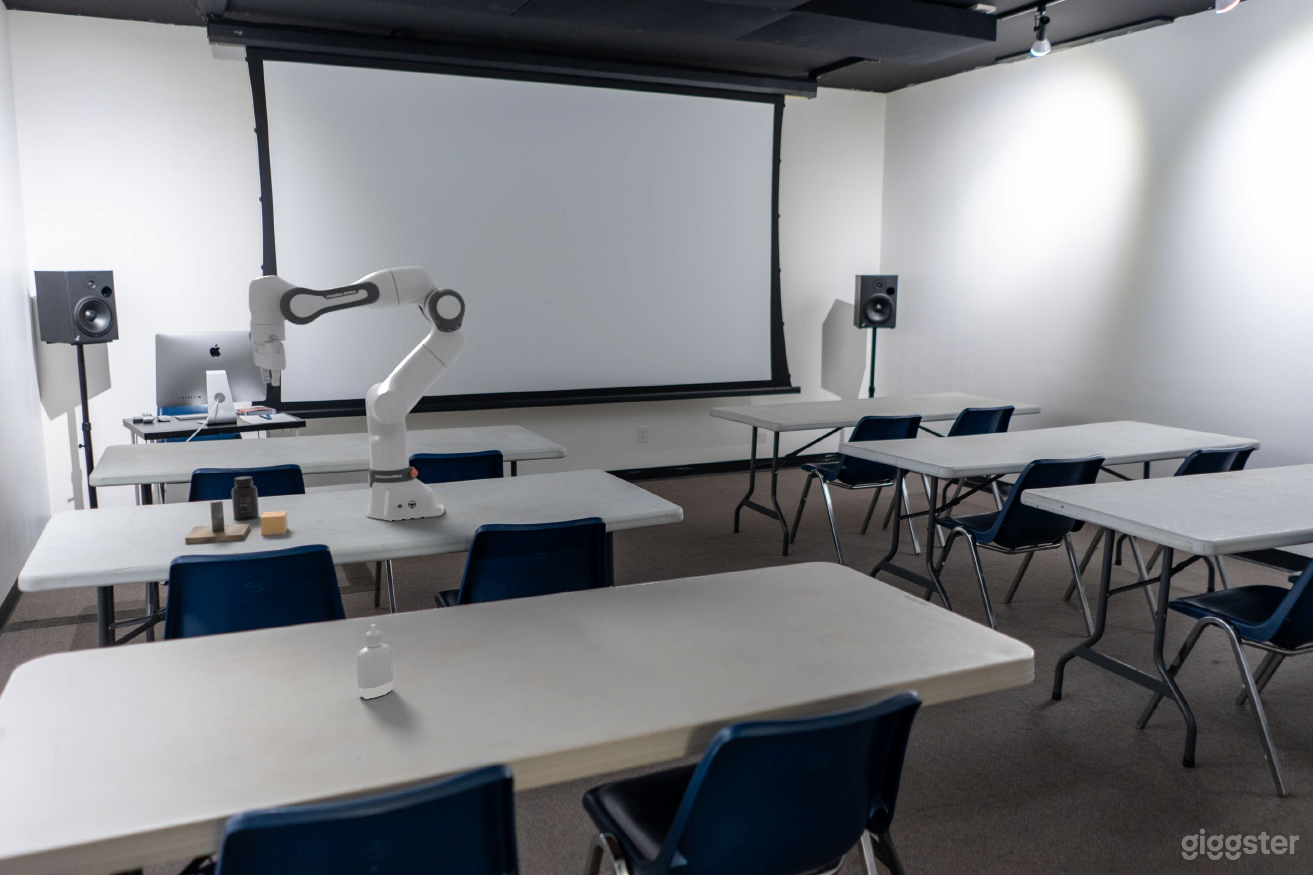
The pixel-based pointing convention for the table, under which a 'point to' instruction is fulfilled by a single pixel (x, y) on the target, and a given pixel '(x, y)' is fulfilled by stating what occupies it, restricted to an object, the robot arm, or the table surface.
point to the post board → (218, 536)
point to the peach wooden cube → (274, 523)
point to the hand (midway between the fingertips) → (271, 384)
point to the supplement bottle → (244, 499)
